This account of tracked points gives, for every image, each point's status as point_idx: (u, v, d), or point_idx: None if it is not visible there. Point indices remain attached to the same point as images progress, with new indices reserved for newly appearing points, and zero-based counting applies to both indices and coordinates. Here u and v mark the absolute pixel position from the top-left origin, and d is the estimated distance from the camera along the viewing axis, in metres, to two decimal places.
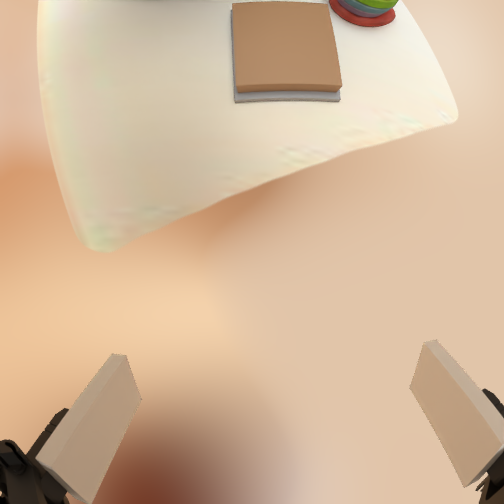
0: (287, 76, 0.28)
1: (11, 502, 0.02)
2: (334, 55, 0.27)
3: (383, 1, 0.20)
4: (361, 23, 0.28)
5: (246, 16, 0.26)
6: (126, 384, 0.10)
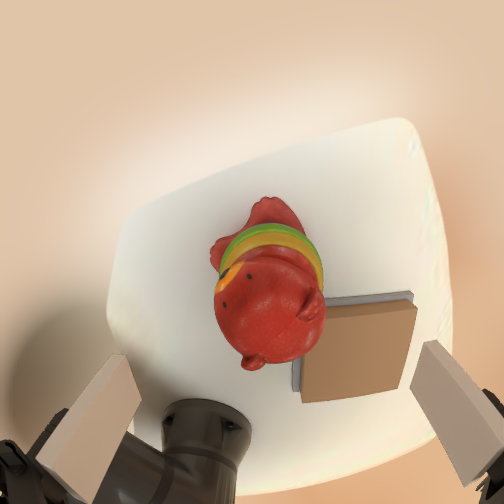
0: (401, 355, 0.30)
1: (11, 502, 0.02)
2: (385, 316, 0.29)
3: (322, 271, 0.23)
4: None
5: (325, 392, 0.32)
6: (126, 384, 0.10)
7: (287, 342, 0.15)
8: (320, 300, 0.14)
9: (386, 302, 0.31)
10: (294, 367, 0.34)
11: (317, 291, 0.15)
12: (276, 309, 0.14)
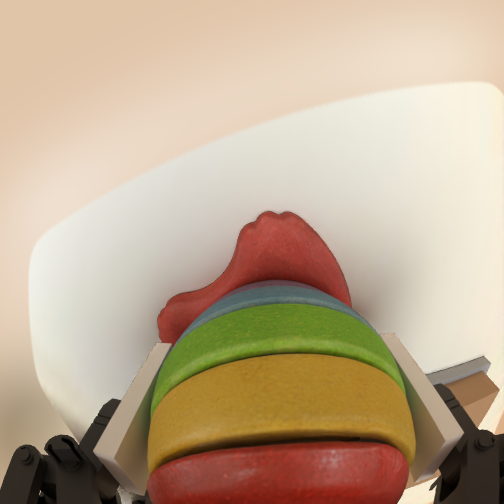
0: None
1: (59, 500, 0.03)
2: None
3: None
4: None
5: None
6: None
7: None
8: None
9: (458, 383, 0.15)
10: None
11: None
12: None
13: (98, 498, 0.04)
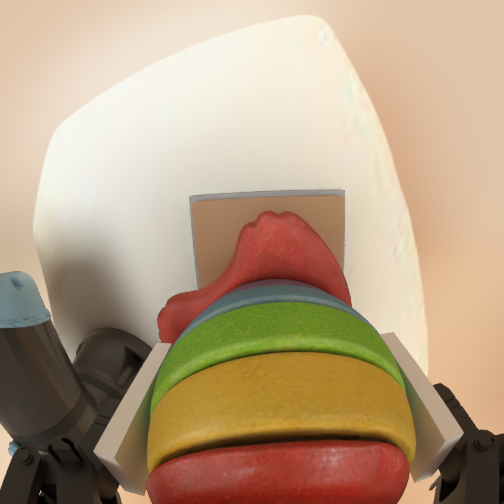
0: None
1: (59, 500, 0.03)
2: (296, 202, 0.25)
3: None
4: None
5: None
6: None
7: None
8: None
9: (304, 195, 0.27)
10: (198, 282, 0.30)
11: None
12: None
13: (98, 498, 0.04)
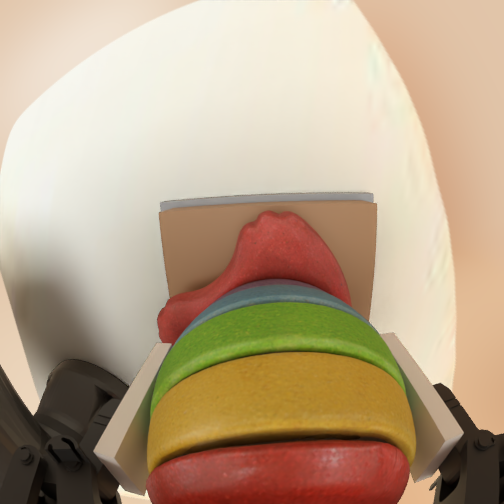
0: (358, 302, 0.18)
1: (59, 500, 0.03)
2: (309, 211, 0.17)
3: None
4: None
5: None
6: None
7: None
8: None
9: (320, 200, 0.19)
10: None
11: None
12: None
13: (98, 498, 0.04)
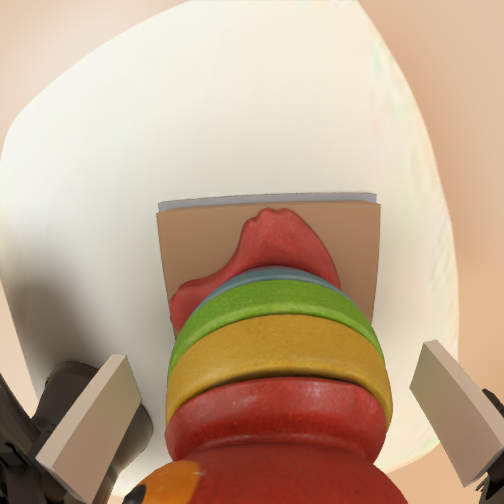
0: (360, 305, 0.18)
1: (11, 502, 0.02)
2: (311, 212, 0.16)
3: None
4: None
5: None
6: (126, 384, 0.10)
7: None
8: None
9: (322, 201, 0.18)
10: None
11: None
12: None
13: (43, 499, 0.03)
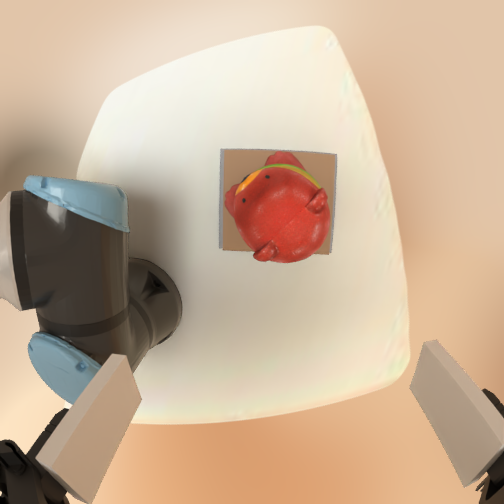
0: None
1: (11, 502, 0.02)
2: (300, 155, 0.33)
3: None
4: None
5: None
6: (126, 384, 0.10)
7: (296, 230, 0.17)
8: (326, 195, 0.17)
9: None
10: (220, 216, 0.38)
11: (323, 188, 0.17)
12: (289, 197, 0.17)
13: (43, 499, 0.03)
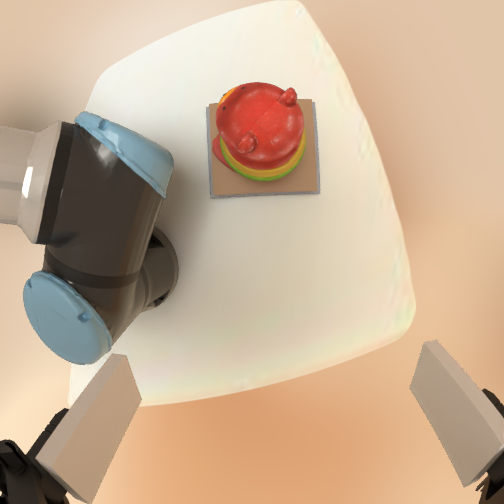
0: (308, 145, 0.35)
1: (11, 502, 0.02)
2: None
3: (304, 130, 0.27)
4: None
5: (234, 181, 0.36)
6: (126, 384, 0.10)
7: (271, 120, 0.18)
8: (294, 91, 0.18)
9: None
10: (209, 167, 0.39)
11: None
12: (262, 94, 0.18)
13: (43, 499, 0.03)
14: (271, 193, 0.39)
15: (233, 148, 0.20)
